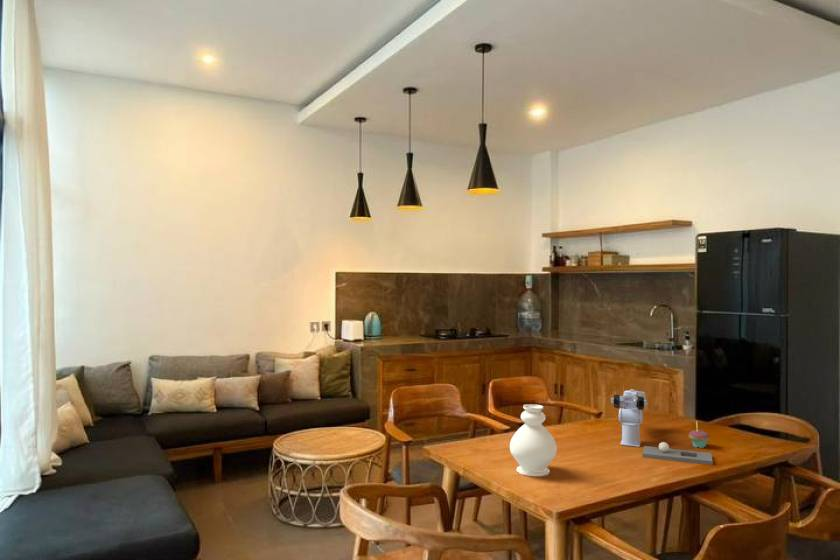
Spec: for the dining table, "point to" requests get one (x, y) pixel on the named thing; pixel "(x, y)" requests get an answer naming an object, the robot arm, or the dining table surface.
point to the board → (678, 455)
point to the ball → (663, 447)
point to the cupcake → (699, 437)
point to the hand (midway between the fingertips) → (627, 403)
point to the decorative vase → (533, 443)
